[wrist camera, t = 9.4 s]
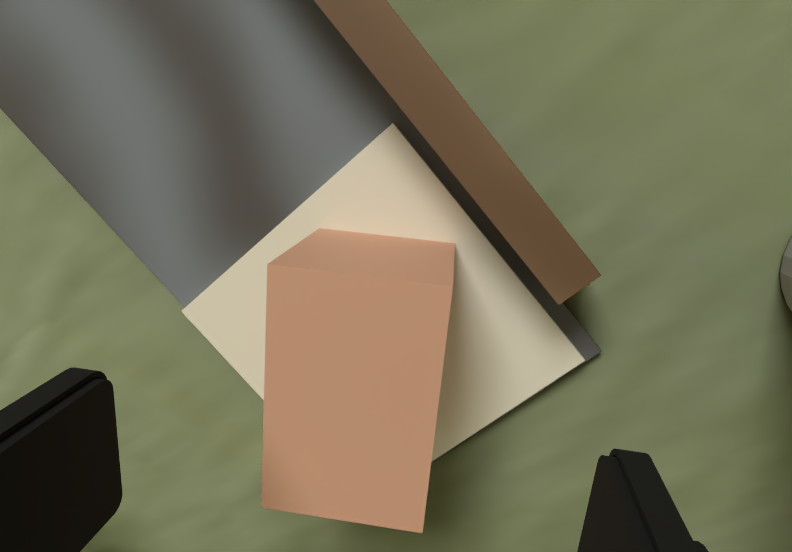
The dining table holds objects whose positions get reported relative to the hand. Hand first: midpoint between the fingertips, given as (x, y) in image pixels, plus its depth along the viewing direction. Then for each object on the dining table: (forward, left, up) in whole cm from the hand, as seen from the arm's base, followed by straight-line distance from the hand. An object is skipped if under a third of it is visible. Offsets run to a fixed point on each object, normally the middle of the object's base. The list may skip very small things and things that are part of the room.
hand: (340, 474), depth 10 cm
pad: (+1, 0, -9) cm, 9 cm away
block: (+1, 0, -9) cm, 9 cm away
